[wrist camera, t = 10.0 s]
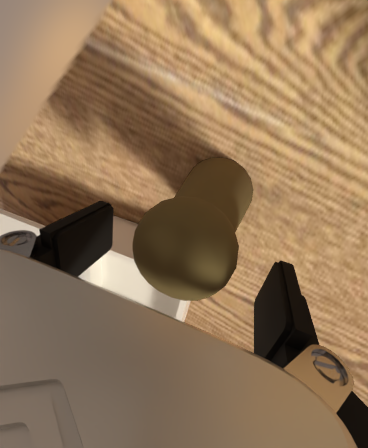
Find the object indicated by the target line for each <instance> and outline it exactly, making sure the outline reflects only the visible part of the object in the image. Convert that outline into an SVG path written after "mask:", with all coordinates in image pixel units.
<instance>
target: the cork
mask: <svg viewBox="0 0 368 448" xmlns="http://www.w3.org/2000/svg"><path fill="white" fill-rule="evenodd" d="M252 195H253V186H252V182H251V178H250V177H249V175H248V173H247V172H246V170H245V169H244V168H243V167H242V166H240V165H239V164H238V163H237V162H235V161H233V160H230V159H227V158H219V157H213V158H210V159H206V160H203V161H202V162H200V163H199V164H197V165H196V166H195V167H194V168H193V169H192V170H191V172H190V173H189V175H188V176H187V178H186V179H185V181H184V183H183V184H182V186H181V187H180V189H179V191H178V192H177V194H176V195H175V197H174V198H172V199H168V200H164V201H161V202H160V203H159V204H157V205H156V206H154V207H153V208H151V209H150V210H149V211H148V212H146V213H145V214H144V216H143V218H142V219H141V221H140V222H139V224H138V226H137V228H136V229H135V232H134V238H133V246H132V250H133V256H134V262H135V264H136V266H137V268H138V270H139V272H140V274H141V275H142V276H143V277H144V279H145V280H146V281H147V282H148V283H149V284H150V285H151V286H153V287H154V288H155V289H156V290H158V291H159V292H161V293H163V294H165V295H167V296H169V297H171V298H175V299H179V300H183V301H198V300H201V299H205V298H208V297H210V296H212V295H214V294H215V293H217V292H218V291H219V290H221V289H222V288H223V287H225V286H226V284H227V283H228V281H229V279H230V278H231V276H232V274H233V272H234V271H235V269H236V265H237V257H238V248H239V245H238V242H237V238H236V234H235V232H236V230H237V228H238V226H239V224H240V222H241V220H242V218H243V217H244V215H245V213H246V211H247V209H248V207H249V205H250V203H251V201H252Z"/></svg>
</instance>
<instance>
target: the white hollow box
mask: <svg viewBox="0 0 368 448" xmlns="http://www.w3.org/2000/svg"><path fill="white" fill-rule="evenodd" d="M137 226H138V224H137V223H134V222H131V221H128V220H125V219H122V218H120V217H117V216H114V215H113V244H112V248H111V249H110V250H109V251H108V252H107V253H106V254H105V255H103V256H102V257H101V258H100V259H99V260H97V261H96V262H95V263H94V264H93V265H91V266H90V280H91V283H93V284H95V285H98V286H100V287H103V288H105V289H107V290H110V291H112V292H114V293H117V294H119V295H122V296H124V297H126V298H129V299H131V300H133V301H136V302H138V303H140V304H143V305H145V306H148V307H150V308H152V309H155V310H157V311H159V312H162V313H164V314H166V315H169V316H171V317H173V318H176V319H178V320H180V321H183V322H184V321H185V318H186V315H187V311H188V308H189V305H190V301H183V300H179V299H175V298H171V297H169V296H167V295H165V294H163V293H161V292H159V291H158V290H156V289H155V288H154V287H153V286H151V285H150V284H149V283H148V282H147V281H146V280H145V279H144V277H143V276H142V275H141V274H140V272H139V270H138V268H137V266H136V264H135V262H134V256H133V250H132V246H133V238H134V232H135V229H136V228H137Z"/></svg>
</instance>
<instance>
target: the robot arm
mask: <svg viewBox="0 0 368 448" xmlns="http://www.w3.org/2000/svg"><path fill="white" fill-rule="evenodd" d="M39 232H40V235H39V236H36V234H35V233H34V232H32V231H27V230H18V231H12V232H8V233H5V234H3V235H1V236H0V448H368V407H367V406H366V405H365V404H364V403H363V402H362V401H361V400H360V399H359V398H358V397H357V396H356V394H355V393H354V392H353V391H352V389H353V386H354V380H353V376H352V374H351V372H350V370H349V368H348V367H347V366H346V364H345V363H344V362H343V361H342V360H341V359H340V358H339V356H337V355H336V354H335V353H334V352H332V351H331V350H329V349H327V348H326V347H323V346H320V345H319V342H318V339H317V335H316V332H315V329H314V325H313V322H312V319H311V315H310V312H309V309H308V305H307V302H306V299H305V297H304V296H302V295H301V291H300V288H299V284H298V280H297V277H296V273H295V270H294V266H293V265H292V264H290V263H286V262H283V261H280V262H279V263H278V262H275V263H274V265H273V266H272V268H271V270H270V272H269V274H268V276H267V278H266V280H265V282H264V284H263V286H262V288H261V289H260V291H259V293H258V295H257V297H256V299H255V303H254V353H252V352H250V351H248V350H246V349H244V348H242V347H240V346H238V345H235V344H233V343H231V342H229V341H226V340H224V339H222V338H219V337H217V336H215V335H213V334H210V333H208V332H206V331H204V330H201V329H199V328H197V327H194V326H192V325H190V324H187V323H185V322H183V321H180V320H178V319H176V318H173V317H171V316H169V315H166V314H164V313H162V312H159V311H157V310H155V309H152V308H150V307H148V306H145V305H143V304H140V303H138V302H136V301H133V300H131V299H129V298H126V297H124V296H122V295H119V294H117V293H114V292H112V291H110V290H107V289H105V288H103V287H100V286H98V285H95V284H93V283H91V282H88V281H86V280H83V279H81V278H79V277H78V276H80V275H81V274H82V273H83V272H84V271H86V270H87V269H88V268H89V267H90V266H91V265H93V264H94V263H95V262H96V261H97V260H99V259H100V258H101V257H102V256H103V255H105V254H106V253H107V252H108V251H109V250H110V249H111V248H112V244H113V207H112V206H111V204H109V203H106V202H103V201H99V202H97V203H95V204H93V205H90V206H88V207H86V208H84V209H82V210H80V211H78V212H75V213H73V214H71V215H69V216H67V217H65V218H63V219H60V220H58V221H56V222H54V223H52V224H50V225H48V226H46V227H43V228H41V229H39Z"/></svg>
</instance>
